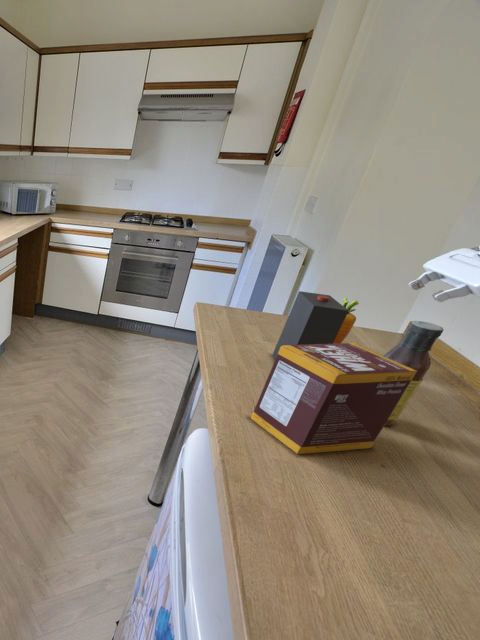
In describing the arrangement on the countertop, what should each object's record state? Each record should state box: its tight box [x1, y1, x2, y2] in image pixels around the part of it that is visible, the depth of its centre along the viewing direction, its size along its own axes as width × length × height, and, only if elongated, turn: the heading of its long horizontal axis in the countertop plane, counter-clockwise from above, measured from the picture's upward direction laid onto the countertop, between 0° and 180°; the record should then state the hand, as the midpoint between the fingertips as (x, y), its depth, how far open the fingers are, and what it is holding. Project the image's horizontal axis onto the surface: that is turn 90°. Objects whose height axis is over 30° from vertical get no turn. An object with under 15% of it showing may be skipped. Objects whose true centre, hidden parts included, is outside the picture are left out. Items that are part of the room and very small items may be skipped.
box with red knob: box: [271, 290, 349, 360], centre depth 92 cm, size 18×11×18 cm, turn 67°
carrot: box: [333, 297, 360, 344], centre depth 102 cm, size 5×5×15 cm
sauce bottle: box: [383, 320, 444, 426], centre depth 75 cm, size 7×6×20 cm
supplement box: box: [250, 342, 417, 455], centre depth 71 cm, size 10×15×16 cm
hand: (422, 292), depth 93 cm, fingers open, 8 cm apart
